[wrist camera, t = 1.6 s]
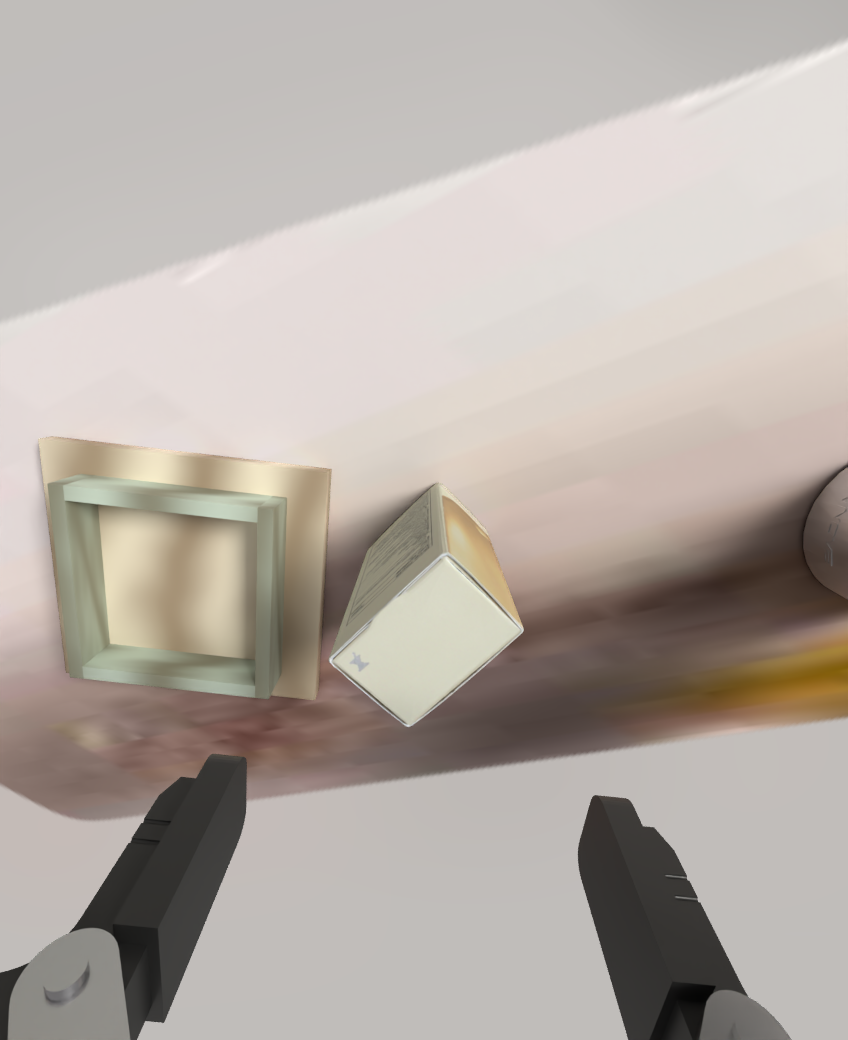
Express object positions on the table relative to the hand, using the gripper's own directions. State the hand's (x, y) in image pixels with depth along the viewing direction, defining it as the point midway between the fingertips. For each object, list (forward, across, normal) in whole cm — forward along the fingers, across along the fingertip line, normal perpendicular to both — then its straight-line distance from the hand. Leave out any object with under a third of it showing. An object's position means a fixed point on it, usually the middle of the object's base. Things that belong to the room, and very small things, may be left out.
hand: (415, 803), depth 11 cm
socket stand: (+19, +14, +4) cm, 24 cm away
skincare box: (+19, 0, 0) cm, 19 cm away
